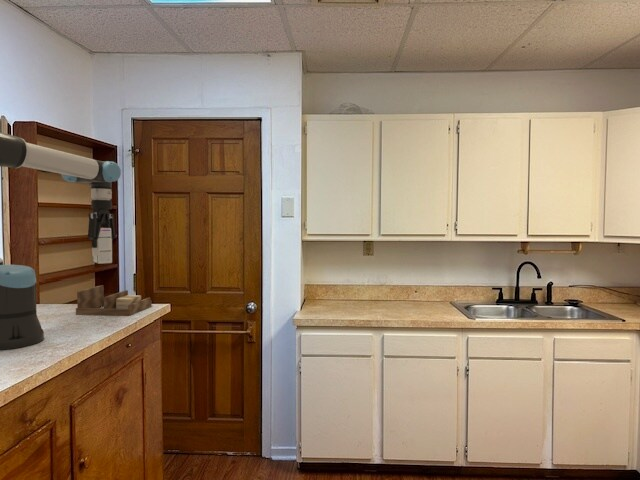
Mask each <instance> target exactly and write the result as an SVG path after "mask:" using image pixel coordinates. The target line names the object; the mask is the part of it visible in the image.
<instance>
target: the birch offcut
mask: <svg viewBox="0 0 640 480" xmlns="http://www.w3.org/2000/svg"><path fill="white" fill-rule="evenodd" d="M141 300H142V295H134V294H133V295H130V294H128V295H127V296H124V297H120V298H117V299H116V306H127V307H128V305H130V304H133V303H135V302H138V301H141Z"/></svg>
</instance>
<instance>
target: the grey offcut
mask: <svg viewBox="0 0 640 480" xmlns="http://www.w3.org/2000/svg"><path fill="white" fill-rule="evenodd" d="M116 309H128V307H127V306H116Z"/></svg>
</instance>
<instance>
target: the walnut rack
mask: <svg viewBox="0 0 640 480" xmlns="http://www.w3.org/2000/svg"><path fill="white" fill-rule="evenodd" d="M104 290H105V289H104V284H103V285H97V286H93V287H89V288H85V289H82V290H78V291H76V298H77V299H76V300H77V306H76V308H75V315H76V316H77V315H81V316H82V315H83V316H116V317H117V316H118V317H120V316H121V317H130V316H132V315H135V314H137V313H139V312H142V311H144V310H147V309H149V308H151V307H153V304H152V300H151V297H145V298H144V299H141V301H138V302H135V303H133V304H130V305H128V309H116V299H117V298H120V297H124V296H127V295H129V290H128V289H126V290H123V291H122V290H121V291H120V292H119V291H118V292H116V293H112V294H109V295H107V296H104V295H105V294H104V293H105V291H104ZM100 306H102V307H103V308H102V307H100ZM98 307H99V308H98Z"/></svg>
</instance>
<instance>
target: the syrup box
mask: <svg viewBox="0 0 640 480" xmlns="http://www.w3.org/2000/svg"><path fill="white" fill-rule="evenodd" d="M98 240H100V256H92V259H93V261H92V262H93V263H94V264H100V265H102V264H112V263H113V239H111V228H103V227H101V229H100V233H99V237H98Z"/></svg>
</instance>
